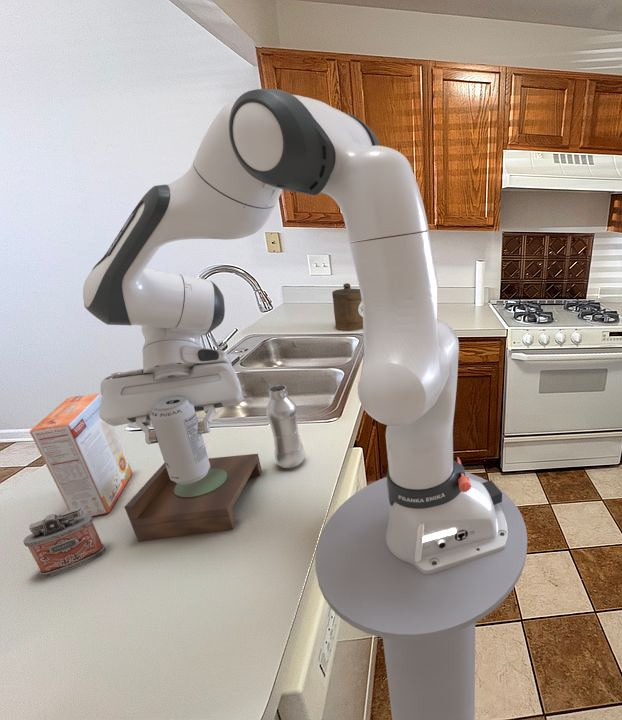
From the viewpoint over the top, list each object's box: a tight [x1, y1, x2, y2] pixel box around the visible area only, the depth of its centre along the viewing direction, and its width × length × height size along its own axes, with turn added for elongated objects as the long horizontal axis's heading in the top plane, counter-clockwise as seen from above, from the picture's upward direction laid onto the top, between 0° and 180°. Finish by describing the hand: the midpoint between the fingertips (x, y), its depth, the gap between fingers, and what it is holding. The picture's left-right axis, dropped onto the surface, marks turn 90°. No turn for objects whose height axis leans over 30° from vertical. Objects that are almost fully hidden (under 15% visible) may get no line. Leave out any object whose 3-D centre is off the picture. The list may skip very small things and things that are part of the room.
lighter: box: [23, 507, 107, 578], centre depth 67 cm, size 8×3×10 cm, turn 131°
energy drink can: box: [150, 395, 210, 484], centre depth 69 cm, size 6×6×15 cm
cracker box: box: [29, 392, 133, 518], centre depth 80 cm, size 14×6×21 cm, turn 23°
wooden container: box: [331, 282, 363, 331], centre depth 198 cm, size 15×15×22 cm
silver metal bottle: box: [265, 384, 306, 469], centre depth 91 cm, size 6×7×20 cm
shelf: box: [124, 453, 263, 542], centre depth 81 cm, size 16×18×8 cm
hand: (179, 437), depth 68 cm, fingers closed on energy drink can, 6 cm apart
